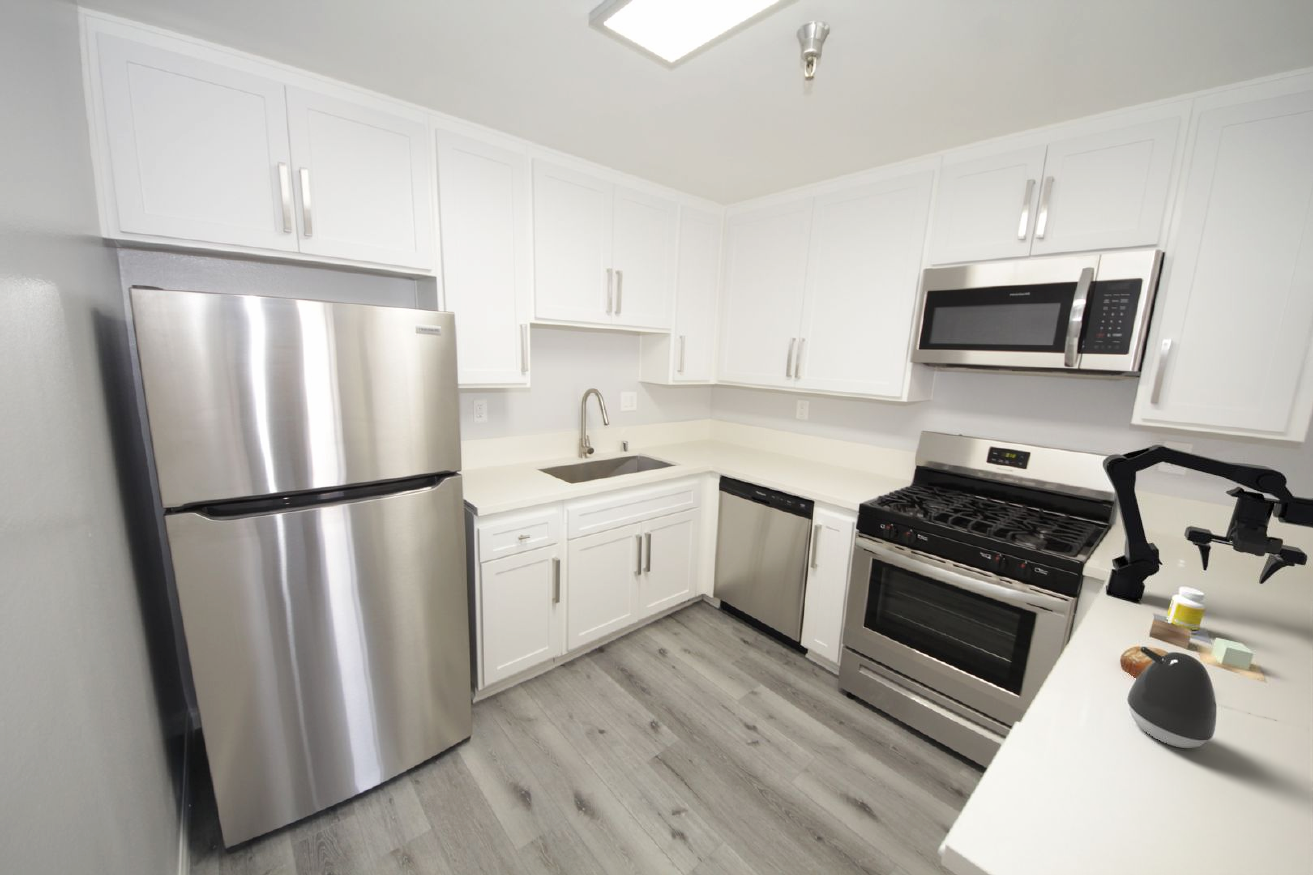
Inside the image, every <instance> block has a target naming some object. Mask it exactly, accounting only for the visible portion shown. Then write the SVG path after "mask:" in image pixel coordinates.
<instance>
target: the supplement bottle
mask: <svg viewBox="0 0 1313 875" xmlns="http://www.w3.org/2000/svg"><path fill="white" fill-rule="evenodd" d="M1204 597H1205V593H1204V592H1202V591H1200V590H1198V589H1195V588H1192V587H1187V586H1180V587H1179V589H1178V594H1174V595H1173V596H1172V598H1171V601H1170V605H1169V608H1168V611H1167V613H1166V616H1165V617H1166V621H1165V622H1168V623H1171V624H1174V625H1177V626H1180V627H1183V628H1186V629H1189V630H1191V633H1197V632H1198V629H1199V627H1201V623H1202V619H1203V616H1204V613H1205V609H1206V604H1205V603H1204V602H1203V600H1204Z"/></svg>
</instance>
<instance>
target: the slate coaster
mask: <svg viewBox="0 0 1313 875" xmlns="http://www.w3.org/2000/svg"><path fill="white" fill-rule="evenodd" d="M1152 615H1153V619H1154V618H1155V619H1159V620H1162V621H1166V617H1167V616H1164V615H1161V614H1157V613H1152ZM1190 639H1193V640H1197V641H1200V642H1204V643H1207V644H1210V645H1213V643H1212V640H1211V638H1210V636H1209V634H1208V631H1207V629H1206V628H1205V627H1202V626H1199V629H1198V632H1197V633H1191V638H1190Z"/></svg>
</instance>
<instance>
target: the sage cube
mask: <svg viewBox="0 0 1313 875" xmlns="http://www.w3.org/2000/svg"><path fill="white" fill-rule="evenodd" d="M1212 645H1213V646H1212V648H1211V649H1212V652H1211V654H1212V655H1213V656H1214V657H1215V658H1216V659H1217V660H1218V661H1219V662H1220V663H1221V664H1223V665H1227V666H1231V667H1235V668H1239V669H1243V670H1248V669H1249V666H1250V663H1251V661H1253V658H1254V652H1252V650H1250V649H1249V648H1248V647H1246V645H1244V644H1243V643H1241V642H1237V641H1232V640H1228V639H1224V638H1220V637H1215V639H1214V642H1213V644H1212Z"/></svg>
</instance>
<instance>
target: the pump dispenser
mask: <svg viewBox="0 0 1313 875" xmlns="http://www.w3.org/2000/svg"><path fill="white" fill-rule="evenodd" d="M1146 647H1147V646H1145V647H1144V646H1143V647H1142V646H1141V648H1140V651H1141V652H1142V653H1144V654H1145V655H1146V656H1148V657H1149V658H1151V659H1152V660H1153V662H1152V663H1150V664H1149V665H1148V666H1147V667H1146V668H1145V669H1144V670H1143V671H1142V672H1141V674H1140V675H1139V676H1138V678H1137V679H1136V680H1135V681H1134V682H1133V684H1132V686H1131V688H1130V690H1129V692H1128V695H1127V699H1126V700H1127V704H1128V705H1129V706H1128V707H1129V712H1130V714H1131V717H1132V719H1133V721H1134V722H1135V723H1136V724H1137V726H1138V727H1139V728H1141V730H1142V731H1144V732H1145V733H1146V732H1147V733H1146V734H1148V735H1149V734H1150V735H1149V736H1150V737H1152V736H1153V737H1152V738H1154V739H1156V740H1157V739H1158V741H1159V740H1160V742H1162V743H1164V744H1166V743H1167V745H1170V746H1172V747H1176V748H1182V749H1192V748H1193V749H1194V748H1198V747H1200V746H1201V745H1203V744H1205V743H1207V741H1208V740H1211V739H1212V738H1213V737H1214V735H1215V731H1216V727H1217V726H1216V725H1217V712H1218V710H1217V700H1216V694H1215V689H1214V687H1213V682H1212V679H1211V676H1210V675H1209V672H1208V670H1207V669H1206V667H1205V665H1203V664H1202V662H1200V661H1199V660H1198V659H1196V658H1195V657H1193V656H1191V655H1189V654H1187V653H1184V652H1176V651H1174V652H1171V651H1170V652H1169V653H1167V654H1165V655H1162V656H1160V655H1159V654H1157V653H1155V652H1153V651H1151V650H1150V649H1148V648H1146Z"/></svg>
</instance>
